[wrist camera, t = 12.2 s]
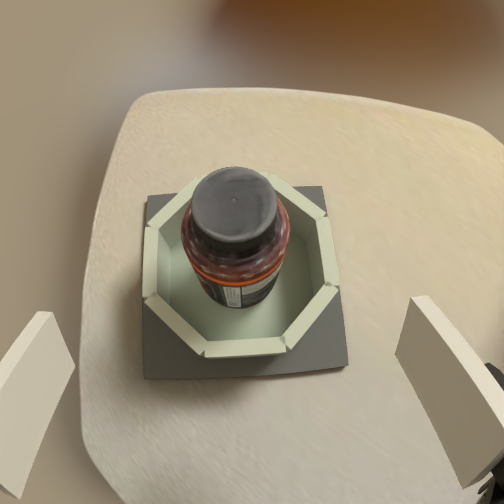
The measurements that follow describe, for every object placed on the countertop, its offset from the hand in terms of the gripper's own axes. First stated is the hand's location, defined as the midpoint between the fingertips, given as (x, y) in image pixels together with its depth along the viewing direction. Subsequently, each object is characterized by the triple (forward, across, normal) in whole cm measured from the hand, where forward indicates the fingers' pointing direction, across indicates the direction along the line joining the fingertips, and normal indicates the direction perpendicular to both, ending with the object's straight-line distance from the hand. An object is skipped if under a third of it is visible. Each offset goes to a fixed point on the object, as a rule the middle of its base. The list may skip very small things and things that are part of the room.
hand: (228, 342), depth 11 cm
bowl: (+14, 0, -5) cm, 15 cm away
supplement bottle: (+14, 0, -5) cm, 14 cm away
